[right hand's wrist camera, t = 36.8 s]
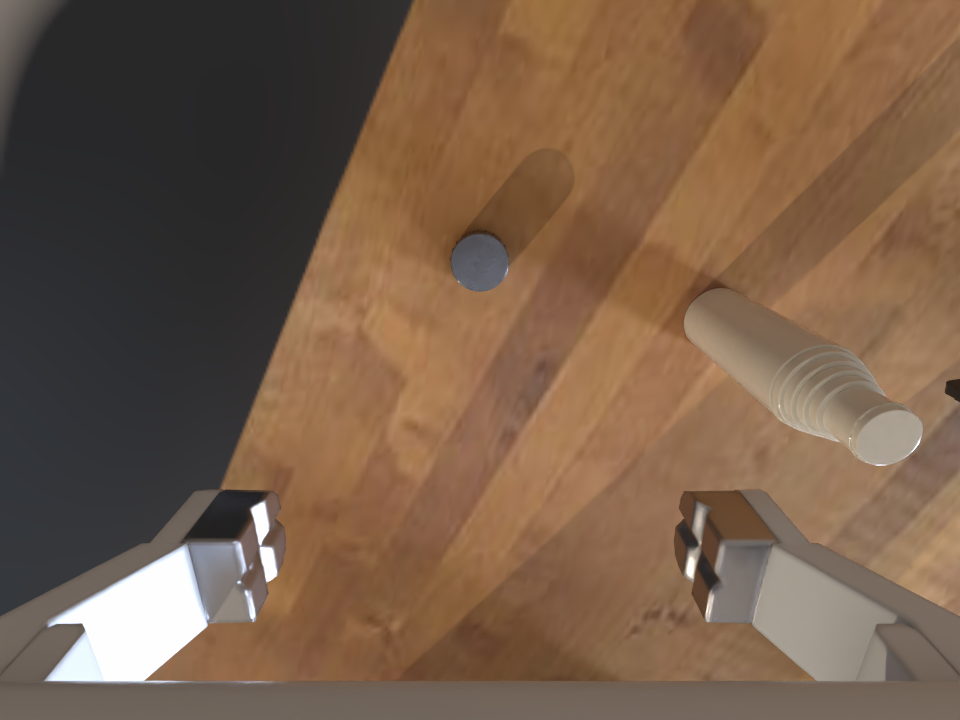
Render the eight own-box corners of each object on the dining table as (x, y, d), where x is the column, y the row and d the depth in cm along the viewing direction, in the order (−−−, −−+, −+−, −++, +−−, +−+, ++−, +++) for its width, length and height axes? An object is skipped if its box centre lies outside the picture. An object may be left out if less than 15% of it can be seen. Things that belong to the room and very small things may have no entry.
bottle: (696, 360, 40) (846, 501, 24) (674, 306, 39) (819, 417, 22) (757, 332, 40) (957, 458, 23) (737, 276, 38) (937, 368, 21)
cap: (519, 258, 38) (521, 263, 36) (479, 297, 39) (479, 304, 37) (480, 217, 36) (480, 220, 35) (439, 258, 37) (437, 263, 36)
